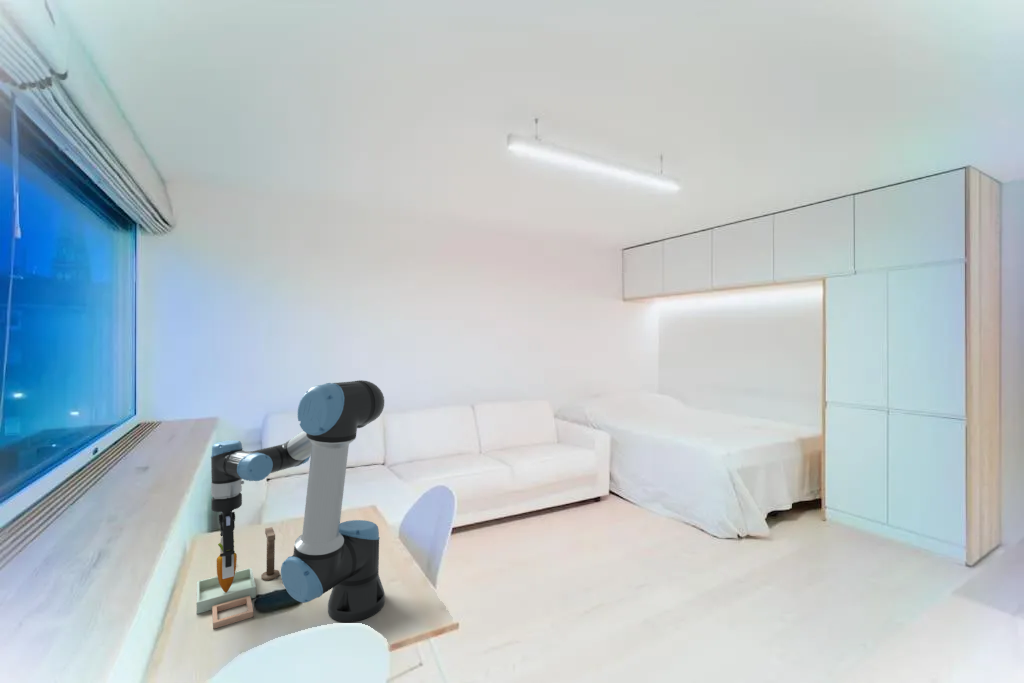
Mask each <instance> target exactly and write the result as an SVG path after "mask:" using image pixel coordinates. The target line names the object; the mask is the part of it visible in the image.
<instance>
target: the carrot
mask: <svg viewBox="0 0 1024 683" xmlns="http://www.w3.org/2000/svg"><path fill="white" fill-rule="evenodd" d="M217 545H218V547H219V549H220V548H221V550H222V551H223V546H222V544H221V543H220V542H219V543H218V544H217ZM230 550H231V549H230ZM226 551H228V550H226ZM237 556H238V555H237V553H236V552H235V553H234V575H235V572H236V570H237V560H238V559H237V558H238V557H237ZM216 576H218V581H219V584H220V586H221V588H222V589H223V591H224V592H227V591H228V590H229V588H230V586H231V585H232V582H233V580H234V576H233V577H229V578H225V579H222V557H220V554H219V555H218V556H217V558H216Z"/></svg>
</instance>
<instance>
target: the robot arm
mask: <svg viewBox="0 0 1024 683" xmlns="http://www.w3.org/2000/svg"><path fill="white" fill-rule="evenodd" d="M384 407H385V396H384V394H383V392H382V390H381V388H380V387H379V386H377V385H376V384H375V383H373V382H371V381H368V380H361V379H359V380H353V381H352V380H351V381H342V382H328V383H327V382H326V383H324V384H319V385H314V386H312V387H311V388H309V389H308V390H307V391H306V392H305V393H304V394H303V395H302V397H301V399H300V400H299V404H298V408H297V420H298V422H300V423H299V427H300V428H301V430H302V431H300V433H298V434H296V435H295V436H293V437H292V438H291V439H289V440H288V441H286V442H285V443H282V444H278V445H274V446H269V447H265V448H260V449H256V450H252V451H251V450H250V451H247V450H243V449H244V448H243V445H242V444H243V443H242V442H241V441H240V440H233V439H231V440H223V441H219V442H218V441H217V442H216V443H214V444H213V445H212V447H211V456H210V460H211V462H210V465H211V484H210V486H211V488H210V490H211V491H210V492H211V494H210V496H211V497H212V498H211V511H213V512H214V513H220V514H218V523H219V526H220V527H219V532H220V542H219V543H221V544H222V546H223V551H222V550H221V548H220V547H219V549H220V553H219V555H220V557H222V579H225V578H229V577H233V576H234V553H236V552H235V537H234V536H235V534H234V533H235V532H234V530H235V528H236V527H235V526H236V525H235V524H236V523H235V521H236V513H235V511H234V510H237V509H239V508H240V507H241V506H243V493H242V490H243V488H242V487H243V486H242V485H244V484H245V481H248V482H260V481H263V480H265V479H267V477H268V476H269V475H271V474H273V473H277V472H279V471H284V470H287V469H291V468H295V467H299V466H301V465H304V464H306V463H308V461H309V467H308V468H309V469H308V479H307V488H306V497H305V505H304V506H305V507H304V513H303V514H304V517H303V524H302V534H301V535H299V536H298V537H297V538H296V539H295V540H294V546H293V554H292V556H291V555H290V556H287V558H286V559H285V560H284V561H283V562H282V564H281V567H280V576H281V577H280V578H281V582H282V584H283V587H284V589H286V592H287V593H288V595H289V596H290V597H291V598H292V599H294V600H295V601H297V602H299V603H309V602H311V601H314V600H315V599H317V598H321V596H323V594H325V593H326V592H329V591H330V590H331V592H330V595H329V599H328V601H327V602H328V603H327V614H328V615H329V617H330V618H332V619H333V620H334V621H338V622H342V623H349V622H350V623H351V622H359V621H362V620H366V619H369V618H370V617H372V616H374V615H376V614H377V613H378V612H379V611H381V610H382V609H383V607H384V605H385V602H386V601H385V600H386V599H385V598H386V596H385V590H384V587H383V584H382V580H381V578H380V575H379V574H380V573H379V568H380V567H379V564H380V562H379V561H380V560H379V558H380V538H381V537H380V533H379V532H380V531H379V526H378V524H376V523H375V522H373V521H369V520H361V519H353V520H346V521H343V522H341V518H342V516H341V515H342V507H343V498H344V492H345V491H344V490H345V488H344V487H345V483H346V473H347V466H348V465H347V464H348V463H347V462H348V454H349V449H350V448H349V446H350V444H351V443H353V442H354V440H356V439H357V433H358V429H362V428H364V427H366V426H367V425H368V424H371V423H372V422H373V421H376V420H377V419H378V418H379V417H381V416H380V415H381V414H382V413H383V411H384ZM230 549H231V550H230ZM226 550H228V551H226Z"/></svg>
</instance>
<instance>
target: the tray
mask: <svg viewBox="0 0 1024 683" xmlns="http://www.w3.org/2000/svg"><path fill="white" fill-rule="evenodd" d="M253 572H254V571H253V568H252V567H249V568H245V569H240V570H237V571H235V575H234V580H233V582H232V585H231V586H230V588H229V590H228V591H227V592H224V591H223V589H222V588H221V586H220V584H219V581H218V576H217V575H216V576H212V577H209V578H204V579H202V580H197V581H196V615H199V614H202V613H205V612H208V611H212V606H214V605H218V604H221V603H225V602H228V601H232V600H236V599H239V598H243V597H246V596H250V597H251V599H254V598H255V599H256V598H257V594H256V593H257V591H256V589H257V585H256V581H255V577H254V573H253Z"/></svg>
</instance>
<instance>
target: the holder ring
mask: <svg viewBox="0 0 1024 683" xmlns="http://www.w3.org/2000/svg"><path fill="white" fill-rule="evenodd" d="M242 605H246V609H247V611H243V612H240V613H236V614H233V615H230V616H226V617H223V618H219V619H218V612H221V611H225V610H228V609H232V608H235V607H239V606H242ZM211 612H212V615H211V617H212V629H213V630H215V629H218V628H221V627H224V626H229V625H231V624H234V623H237V622H241V621H244V620H248V619H250V618H253V617H254V608H253V604H252V598H251V597H250V596H246V597H243V598H239V599H236V600H232V601H228V602H225V603H221V604H218V605H214V606H212V610H211Z"/></svg>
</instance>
